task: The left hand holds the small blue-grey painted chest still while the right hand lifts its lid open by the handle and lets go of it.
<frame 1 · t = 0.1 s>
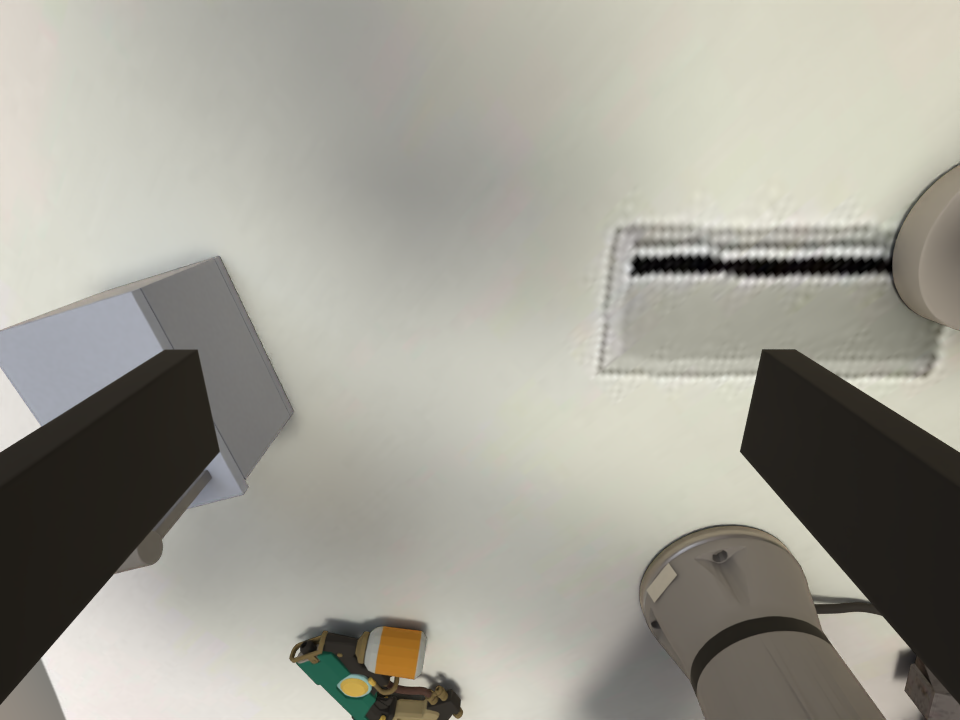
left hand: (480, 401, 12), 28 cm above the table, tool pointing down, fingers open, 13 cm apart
spray gun: (383, 668, 55), on the table
lid: (80, 450, 29), point 14 cm above the table, hinge at 0.0°
chest: (203, 354, 42), on the table
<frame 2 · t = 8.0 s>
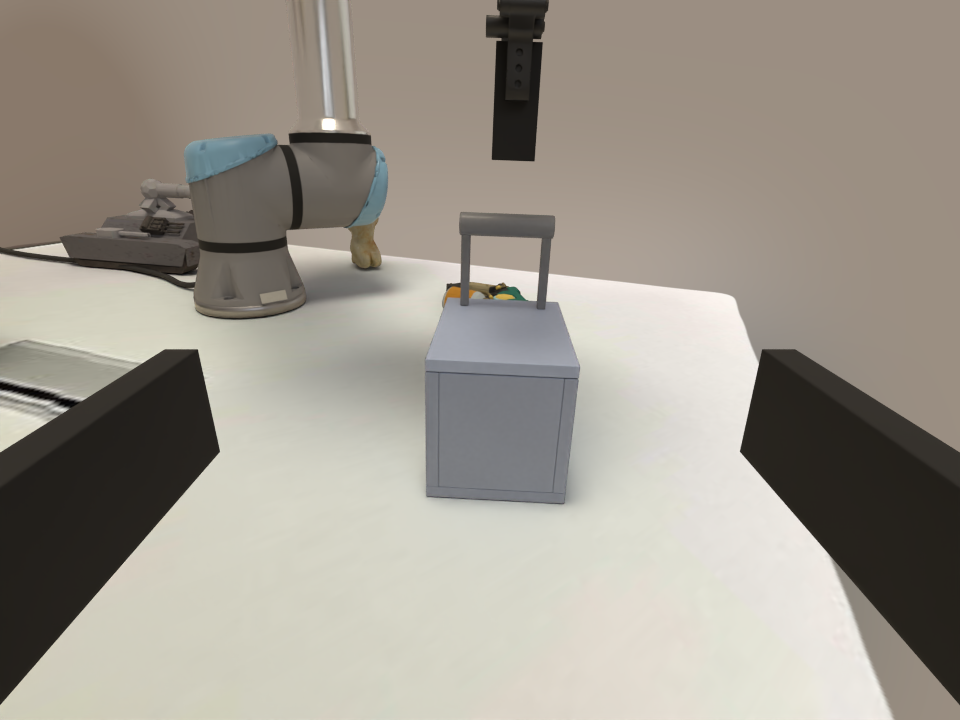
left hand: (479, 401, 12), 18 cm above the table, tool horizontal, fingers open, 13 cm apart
spray gun: (489, 310, 78), on the table
sculpture: (365, 267, 102), on the table
lid: (504, 282, 38), point 14 cm above the table, hinge at 0.0°
toy: (168, 260, 102), on the table
chest: (496, 447, 43), on the table
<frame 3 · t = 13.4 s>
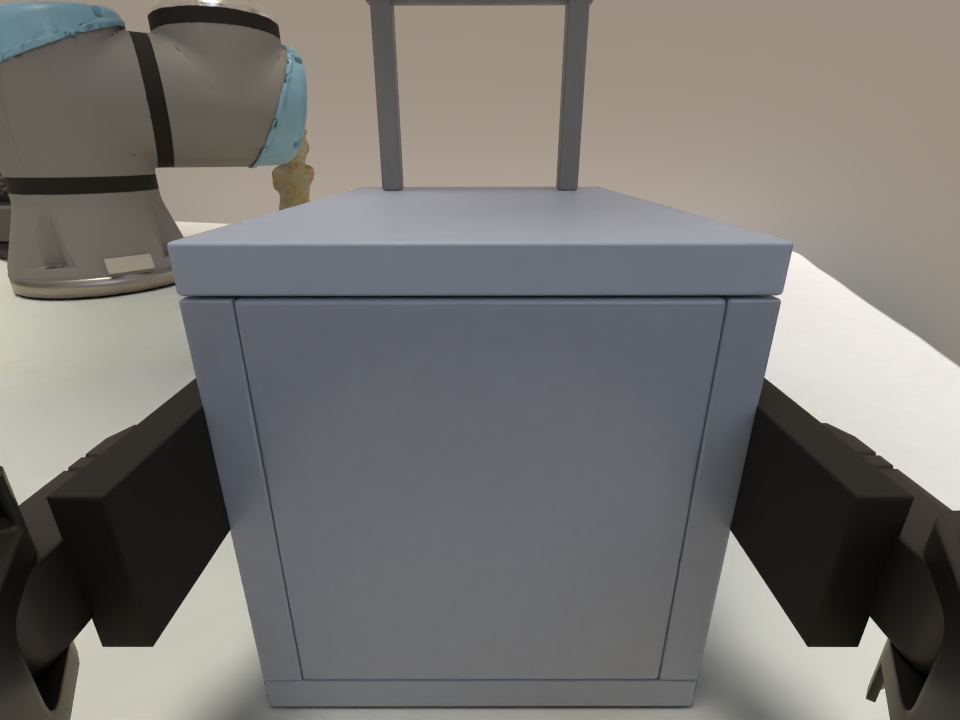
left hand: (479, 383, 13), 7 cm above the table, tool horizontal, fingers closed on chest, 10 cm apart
sculpture: (301, 239, 77), on the table
lid: (479, 66, 13), point 14 cm above the table, hinge at 0.0°
toy: (34, 240, 76), on the table
chest: (480, 515, 18), on the table, touching left hand
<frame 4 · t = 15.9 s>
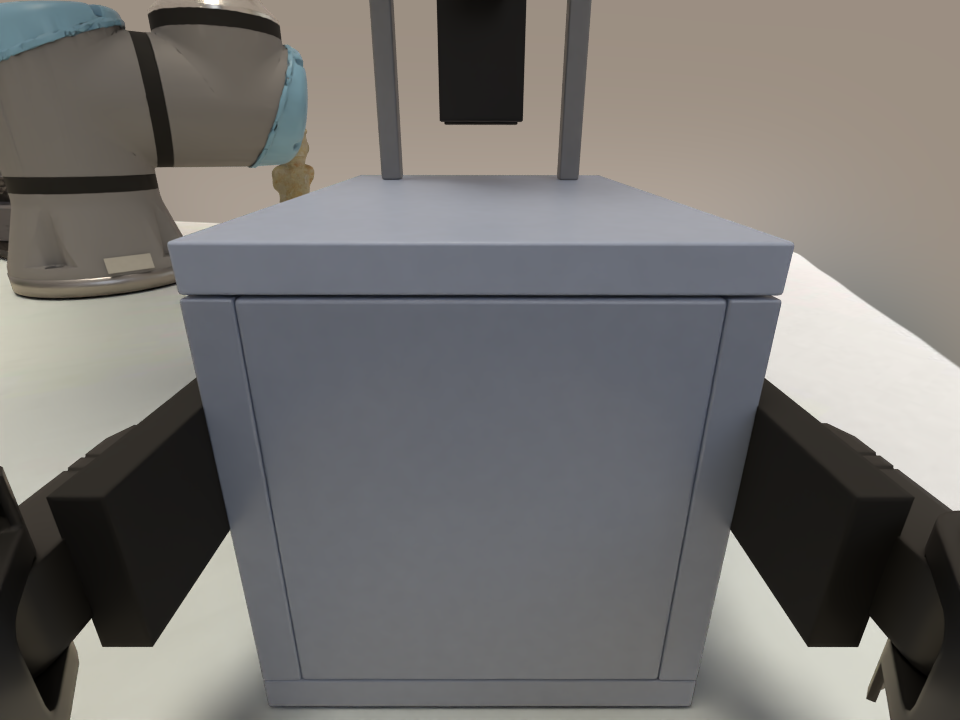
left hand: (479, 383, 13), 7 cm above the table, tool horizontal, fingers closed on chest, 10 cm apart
sculpture: (301, 239, 77), on the table
lid: (480, 55, 13), point 14 cm above the table, hinge at 1.8°, touching right hand
toy: (33, 240, 76), on the table
chest: (479, 515, 18), on the table, touching left hand
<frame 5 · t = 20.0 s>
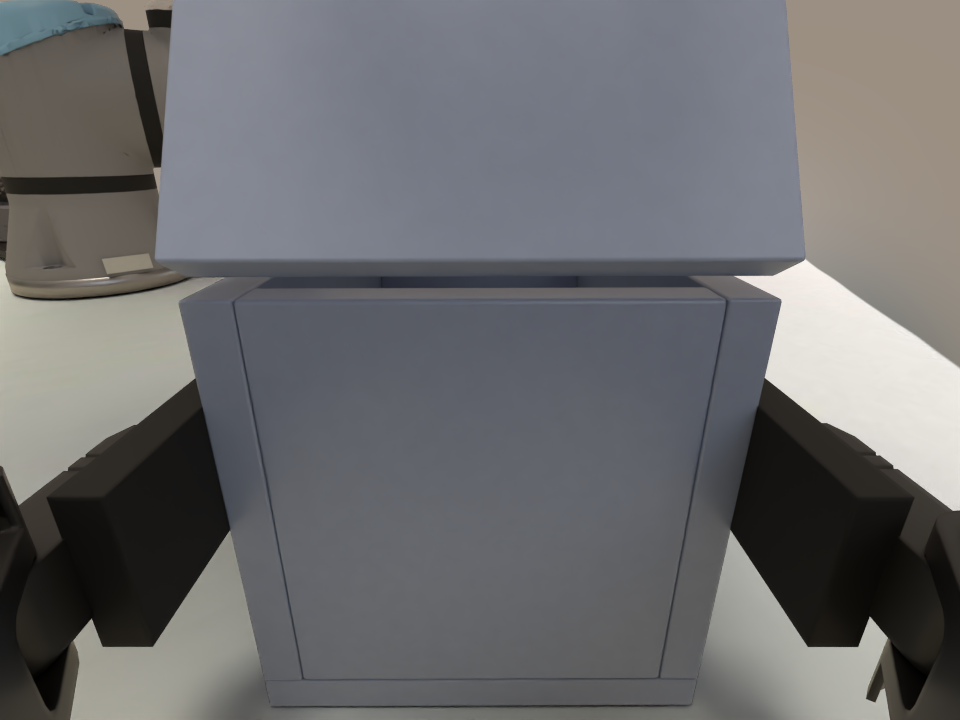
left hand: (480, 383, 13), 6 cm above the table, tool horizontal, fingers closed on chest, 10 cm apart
toy: (32, 240, 76), on the table
chest: (480, 514, 18), on the table, touching left hand
when the left hand's fingers open (6 cm above the table, at t = 22.4 s): chest stays where it is, on the table.
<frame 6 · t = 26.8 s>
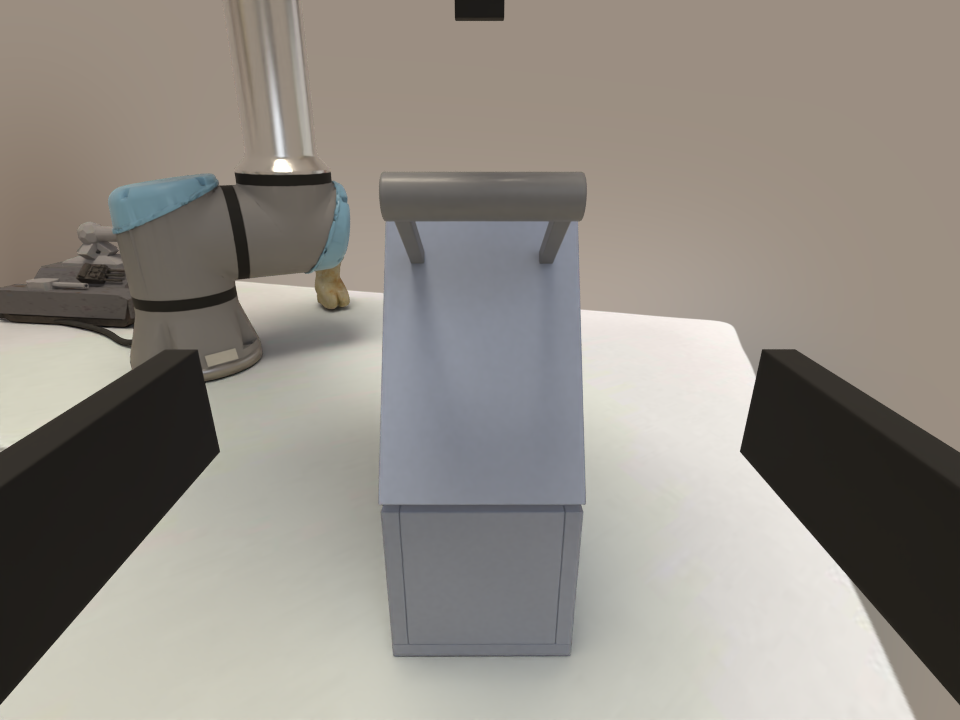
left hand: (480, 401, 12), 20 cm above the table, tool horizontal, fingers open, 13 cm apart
sculpture: (332, 307, 94), on the table
lid: (482, 343, 22), point 18 cm above the table, hinge at 60.2°
toy: (113, 308, 92), on the table
chest: (481, 564, 35), on the table
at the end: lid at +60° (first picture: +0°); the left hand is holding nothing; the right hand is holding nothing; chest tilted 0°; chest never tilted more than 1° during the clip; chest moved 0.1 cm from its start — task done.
